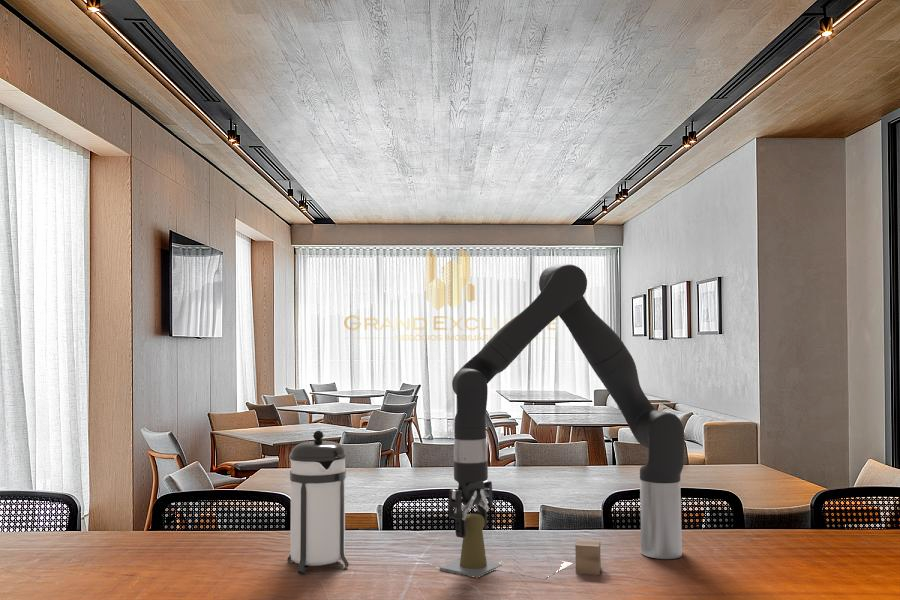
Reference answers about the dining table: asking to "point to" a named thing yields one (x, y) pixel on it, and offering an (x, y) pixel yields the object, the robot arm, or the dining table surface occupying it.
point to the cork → (473, 543)
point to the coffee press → (317, 504)
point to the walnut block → (588, 556)
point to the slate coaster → (456, 568)
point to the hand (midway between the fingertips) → (471, 532)
